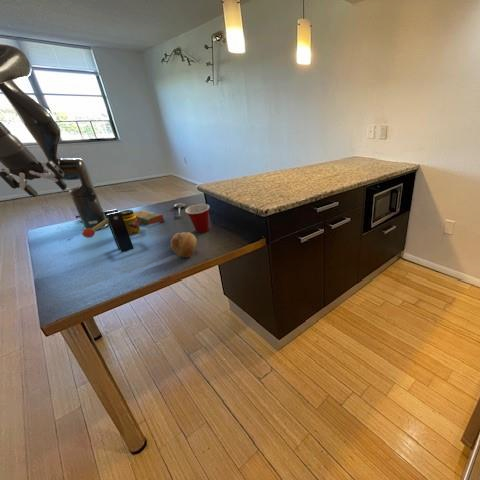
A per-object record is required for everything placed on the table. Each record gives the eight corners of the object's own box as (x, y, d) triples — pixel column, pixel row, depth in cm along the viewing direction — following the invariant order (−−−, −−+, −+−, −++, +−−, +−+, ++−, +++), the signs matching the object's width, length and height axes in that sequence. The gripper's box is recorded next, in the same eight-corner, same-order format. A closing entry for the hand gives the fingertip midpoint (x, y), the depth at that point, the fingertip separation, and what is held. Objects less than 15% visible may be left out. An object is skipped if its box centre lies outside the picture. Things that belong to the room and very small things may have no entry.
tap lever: (88, 240, 97) (80, 234, 94) (86, 237, 99) (78, 231, 96) (121, 218, 102) (114, 211, 100) (119, 216, 105) (111, 209, 102)
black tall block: (113, 260, 102) (95, 219, 94) (106, 253, 108) (89, 213, 99) (146, 249, 110) (133, 210, 102) (139, 243, 116) (126, 205, 108)
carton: (145, 216, 144) (143, 209, 142) (164, 221, 137) (162, 214, 136) (129, 221, 137) (127, 214, 135) (149, 227, 131) (147, 219, 129)
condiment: (143, 236, 122) (134, 212, 116) (121, 240, 117) (111, 216, 112) (142, 230, 127) (134, 207, 122) (121, 235, 123) (112, 211, 117)
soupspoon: (187, 206, 161) (175, 207, 159) (185, 200, 159) (173, 202, 157) (185, 217, 143) (172, 219, 140) (184, 211, 141) (170, 213, 139)
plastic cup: (185, 233, 125) (179, 209, 120) (202, 224, 134) (197, 202, 129) (202, 237, 122) (197, 213, 116) (218, 228, 131) (214, 205, 125)
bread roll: (172, 262, 102) (167, 244, 98) (174, 245, 114) (169, 229, 110) (199, 257, 105) (195, 239, 102) (198, 241, 117) (194, 225, 114)
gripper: (39, 139, 83) (76, 181, 95) (-17, 148, 79) (29, 191, 91) (33, 150, 78) (72, 193, 90) (-27, 160, 74) (22, 204, 87)
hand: (50, 192), depth 91 cm, fingers open, 8 cm apart
